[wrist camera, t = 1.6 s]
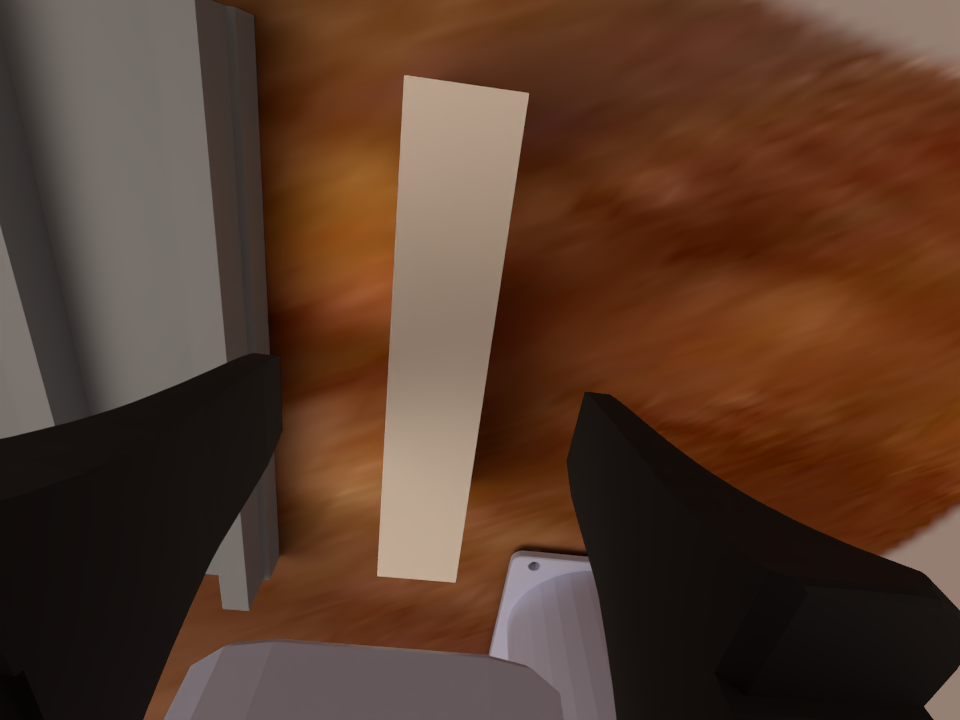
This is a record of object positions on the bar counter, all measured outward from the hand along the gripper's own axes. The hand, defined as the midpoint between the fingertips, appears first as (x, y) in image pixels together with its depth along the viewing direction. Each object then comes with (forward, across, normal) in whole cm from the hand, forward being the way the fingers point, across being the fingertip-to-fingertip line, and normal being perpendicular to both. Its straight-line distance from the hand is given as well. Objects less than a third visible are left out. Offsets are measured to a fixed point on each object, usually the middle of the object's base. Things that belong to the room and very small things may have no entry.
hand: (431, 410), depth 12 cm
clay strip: (+6, 0, 0) cm, 6 cm away
